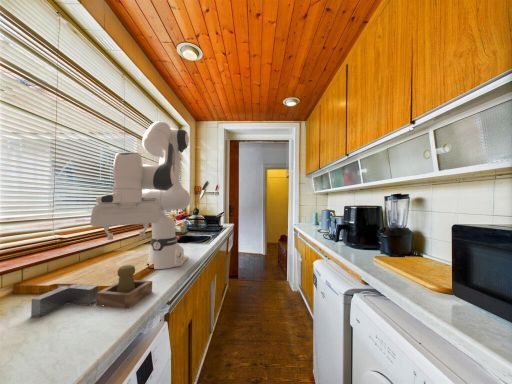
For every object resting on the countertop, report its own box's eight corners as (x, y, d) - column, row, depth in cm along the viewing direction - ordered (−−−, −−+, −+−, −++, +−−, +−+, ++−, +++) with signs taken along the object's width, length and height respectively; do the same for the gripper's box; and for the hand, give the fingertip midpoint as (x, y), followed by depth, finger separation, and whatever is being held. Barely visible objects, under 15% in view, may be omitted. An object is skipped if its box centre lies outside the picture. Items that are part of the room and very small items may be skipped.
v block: (36, 307, 67) (36, 290, 67) (97, 293, 76) (98, 279, 76) (29, 319, 60) (29, 301, 60) (97, 303, 69) (98, 287, 70)
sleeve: (123, 290, 80) (123, 279, 80) (151, 292, 78) (152, 281, 78) (96, 305, 68) (96, 292, 68) (128, 308, 66) (128, 295, 67)
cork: (126, 303, 69) (127, 269, 70) (110, 301, 71) (111, 268, 71) (140, 295, 75) (140, 263, 76) (125, 293, 77) (126, 262, 77)
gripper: (158, 197, 82) (157, 233, 82) (91, 197, 70) (90, 239, 70) (161, 197, 77) (161, 236, 77) (90, 197, 65) (89, 243, 65)
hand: (126, 237), depth 73 cm, fingers open, 8 cm apart
